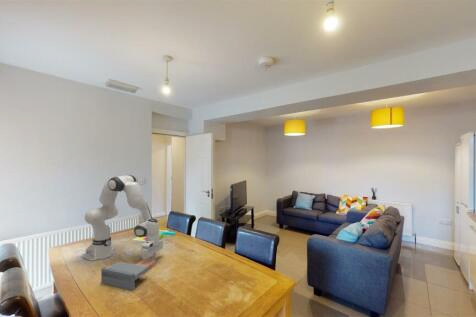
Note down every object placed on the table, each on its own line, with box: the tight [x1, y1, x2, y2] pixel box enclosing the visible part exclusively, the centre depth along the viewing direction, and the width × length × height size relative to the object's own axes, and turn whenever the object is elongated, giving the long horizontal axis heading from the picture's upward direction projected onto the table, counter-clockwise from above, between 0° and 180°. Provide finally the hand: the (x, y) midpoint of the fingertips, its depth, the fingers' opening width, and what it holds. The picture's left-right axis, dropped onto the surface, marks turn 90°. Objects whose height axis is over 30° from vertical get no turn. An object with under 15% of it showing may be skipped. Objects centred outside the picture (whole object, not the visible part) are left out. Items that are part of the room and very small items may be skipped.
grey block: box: [100, 261, 149, 291], centre depth 135 cm, size 24×13×9 cm, turn 72°
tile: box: [135, 258, 157, 275], centre depth 151 cm, size 10×14×4 cm
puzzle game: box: [131, 229, 177, 245], centre depth 209 cm, size 30×3×30 cm
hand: (152, 259), depth 160 cm, fingers closed
